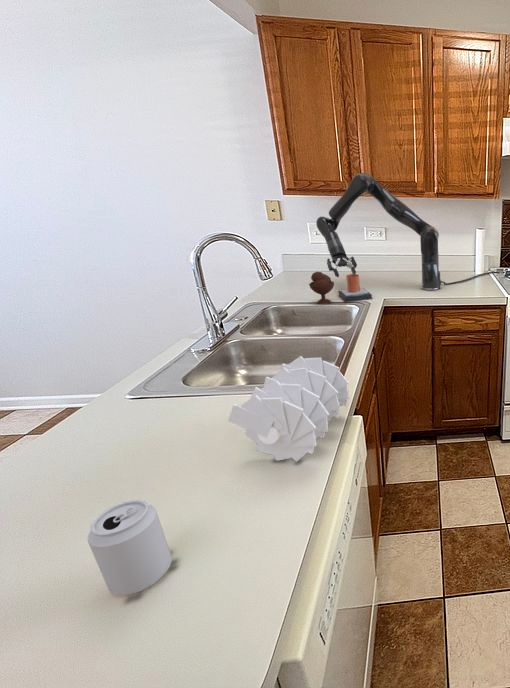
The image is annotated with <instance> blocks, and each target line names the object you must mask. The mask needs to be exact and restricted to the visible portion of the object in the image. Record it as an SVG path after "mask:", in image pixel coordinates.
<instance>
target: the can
mask: <svg viewBox="0 0 510 688" xmlns="http://www.w3.org/2000/svg"><path fill="white" fill-rule="evenodd" d="M87 543H88V546H89V548H90V550H91V553H92V555H93V557H94V559H95V562H96V564H97V566H98V568H99V571H100V573H101V575H102V577H103V581H104V582H105V584H106V587H107V589H108V591H109V592H110V593H111V594H112V595H114V596H121V597H122V596H129V595H134V594H137V593H141V592H143V591H144V590H147V589H149V588H150V587H151V586H153V585H155V584H156V583H157V582H158V581H159V580H160V579H161V578H162V577H163V576H164V575H165V574H166V573H167V571H168V570H169V569H170V567H171V565H172V561H173V556H172V553H171V550H170V547H169V545H168V544H169V543H168V541H167V538H166V535H165V531H164V529H163V526H162V524H161V521H160V517H159V515H158V512H157V508H156V507H155V506H153V505H152V504H149V503H148V502H147V501H145V500H143V499H131V500H126V501H122V502H120V503H117V504H115V505H113V506H111V507H109V508H107V509H105V510H104V511H103V512H101V513H100V514H99V515H97V517H95V519H93V520H92V523H91V524H90V531H89V533H88V535H87Z"/></svg>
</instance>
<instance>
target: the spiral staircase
mask: <svg viewBox="0 0 510 688" xmlns="http://www.w3.org/2000/svg"><path fill="white" fill-rule="evenodd" d="M339 369H340V367H339V366H337V365H335V364H332V363H330V362H328V361H326V360H322V357H306V358H304V357H303V356H302V355H299V356H298V357H296V358H295V359H294V360H293V361H291V362H290V363H288V364H285V363H282V364H281V367H280V370H279V371H278V372H277V373H275V374H274V375H273V376H272V377H270V376H266V377H265V379H264V383H263V387H262V388H260V387H257V386H255V387H254V389H253V391H252V393H251V395H250V397H249V399H248V400H247V401H245V402H243V403H242V404H240V405H239V404H237V403H234V404H232V408H231V410H230V413H229V416H228V419H227V421H228V422H229V423H232V424H234V425H236V426H238V427H240V428H243V429H245V431H244V432H243V434H244V435H245V436H246V437H247V438H249V439H250V440H252V442H254V443H255V444H257V448H256V451H257V452H261V453H264V454H268V455H272V456H273V457H274V458H275V461H277V462H278V461H282V460H288V459H293V460H294V461H295V462H298V461H299V460H300V459H302V458H303V457H304V456H305V455H306V454H307V453H308V454H313V453H314V451H315V447H317V438H320V439H325V435H326V433H328V432H329V422H330V421H331V419H333V417H334V418H339V411H341V407H342V406H344V407H346V406H347V404H348V400H350V394H349V388H348V385H349V384H350V382H349V381H348V379H347V378H346V377H345V376H344V375H343V374H342V372H341V371H340V370H339Z"/></svg>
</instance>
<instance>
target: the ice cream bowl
mask: <svg viewBox="0 0 510 688" xmlns="http://www.w3.org/2000/svg"><path fill="white" fill-rule="evenodd" d="M310 279H311V282H309V283H308V285H309V288H310V290H312V291H313V292H314V293H316V294H318V295H320V297H321V299H319V300H318V301H317V304H319V305H327V304H329V303H331V300H329V299H328V298H326V294H329V293H330V292H331V291H332V290H333V288H334V286H335V282H334V281H332V279H331V277H330V276H329V275H328V274H325V273H323V272H322V271H315V272H313V273H312V274H311V276H310Z"/></svg>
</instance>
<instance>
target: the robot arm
mask: <svg viewBox="0 0 510 688" xmlns="http://www.w3.org/2000/svg"><path fill="white" fill-rule="evenodd" d="M364 194H369V195H370V196H371V197H373V198H374V199H375V200H376V201H377V202H378V203H379V204H380V206H381V208H382V209H383V210H384V211H385V212H386V213H387V214H388V215H389V216H390V217H392V218H393V219H394V220H395V221H397V222H398V223H400V224H402V225H404V226H406V227H407V228H409V229H411V230H413V231H414V232H415V233H416V234H417V235H418V236H419V238H420V255H421V256H420V257H421V289H422V290H425V291H436V290H440V289H441V285H442V284H443V285H445V286H449V285H450V286H451V285H455V284H459V283H463V282H467V281H469V280H473V279H475V278H478V277H481V276H486V275H491V274H494V273H495V272H494V271H495V270H492V271H488V272H484V273H480V274H477V275H474V276H471V277H469V278H466V279H461V280H458V281H453V282H445V281H444V280H442V279H441V271H440V263H439V262H440V261H439V260H440V259H439V258H440V256H439V255H440V254H439V237H440V234H439V231H438V230H437V228H436V227H434V226H432V225H430V223H428V222H426V221H425V220H423V219H422V218H420V216H418V214H416V212H414V211H413V210H412V209H411V208H410V207H409V206H408V205H406V203H404V202H403V201H401V200H400V199H399V198H398V197H396V196H395V195H394V194H392V193H391V192H390V191H388V190H387V189H386V188H384V186H383V185H381V184H380V183H379V182H378V180H376V179H375V178H374V177H373V176H372V175H371V174H370V173H367V172H360V173H357V174H355V175H354V176H353V177H352V178H351V181H350V182H349V184H348V186H347V188H346V189H345V191H344V192H343V194H342V195H341V196H340V197H339V198H338V199H337V201H336V202H335V203H334V204H333V205H332V206H331V208H330V209H329V210H328V215H329V217H330V218H328V217H326V216H318V217H317V219H316V221H315V224H316V228H317V230H318V232H319V233H320V235H321V236H322V237H323V238H324V240H325V243H326V246H327V251H328V253H329V255H330V258H327V259H326V265H327V268H328V271H329V272H331V271H332V272H333V274H334V277H336V278H339V277H340V274H339V271H338V267H339V268H342V267H346V268H348V269H350V271H351V274H357V271H356V269H357V266H358V264H357V262H356V259H355V257H354V256H351V257H348V255H347V253H346V251H345V250H346V249H345V248H344V245H343V242H342V241H341V239H340V237H339V234H338V232H336V231H337V229H338V227H339V225H340V222H341V221H342V219H343V218H344V216H346V214H347V213H348V212H349V210H350V209H351V207H352V205H353V204H354V203H355V201H357V199H358V198H359V197H361V196H362V195H364ZM332 264H334V266H333V265H332ZM496 273H497V274H500V271H498V272H496Z"/></svg>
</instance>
